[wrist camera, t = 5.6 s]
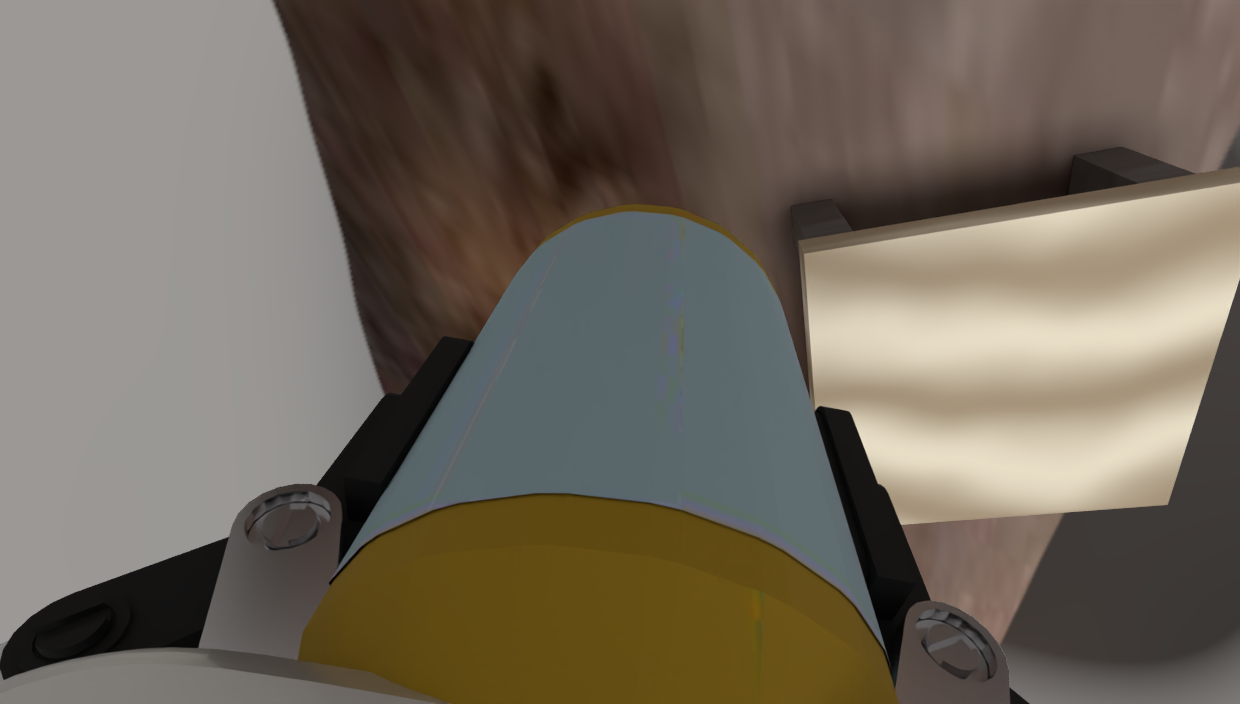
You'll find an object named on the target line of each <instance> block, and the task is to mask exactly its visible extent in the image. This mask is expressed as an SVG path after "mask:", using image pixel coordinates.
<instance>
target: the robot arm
mask: <svg viewBox="0 0 1240 704" xmlns="http://www.w3.org/2000/svg"><path fill="white" fill-rule="evenodd" d="M473 344H474V342H473V341H469V340H464V339H458V338H453V337H448V336H444V337H443V338H442V339H441V340H440V342H439V343H438V344H437V346H436V347H435V349H434V350H433V351H432V353H431V354H430V355H429V357H428V358H427V360H426V361H425V362H424V364H423V365H422V367H421V368H420V369H419V371H418V372H417V374H416V375H415V376H414V378H413V379H412V381H411V382H410V383H409V385H408V386H407V388H406V389H405V390H404V392H403V393H402V395H398V394H393V393H389V394H386V395H385V396H384V397H383V398H382V399H381V401H380V402H379V403H378V405H377V406H376V407H375V408H374V410H373V411H372V413H371V414H370V415H369V416H368V418H367V419H366V420H365V422H364V423H363V424H362V426H361V427H360V428H359V430H358V431H357V432H356V434H355V435H354V436H353V438H352V439H351V440H350V442H349V443H348V444H347V445H346V447H345V448H344V449H343V451H342V452H341V454H340V455H339V456H338V457H337V459H336V460H335V461H334V463H333V464H332V465H331V467H330V468H329V469H328V471H327V472H326V473H325V475H324V476H323V477H322V479H321V480H320V481H319V483H318V484H317V485H312V484H293V485H288V486H283V487H279V488H276V489H273V490H270V491H268V492H265V493H263V494H261V495H260V496H258V497H257V498H255V499H253V500H252V501H250V502H249V503H248V504H247V505H246V506H245V507H244V508H243V509H242V510H241V511H240V512H239V513H238V515H237V517H236V519H235V521H234V523H233V525H232V528H231V532H230V535H229V537H227V538H225V539H222V540H219V541H216V542H213V543H211V544H208V545H205V546H202V547H200V548H197V549H194V550H191V551H189V552H186V553H183V554H181V555H177V556H175V557H172V558H169V559H166V560H164V561H161V562H158V563H155V564H153V565H150V566H147V567H144V568H142V569H139V570H136V571H133V572H130V573H128V574H125V575H122V576H120V577H117V578H114V579H111V580H108V581H106V582H103V583H100V584H97V585H95V586H92V587H89V588H86V589H84V590H81V591H78V592H75V593H73V594H71V595H68V596H66V597H64V598H62V599H60V600H57V601H55V602H53V603H51V604H49V605H48V606H47V607H45V608H43V609H42V610H40V611H39V612H37V613H36V614H34V615H33V616H31V617H30V618H29V619H28V620H27V621H26V622H25V623H24V624H23V625H22V626H20V627H19V628H18V629H17V630H16V632H14V634H13V635H12V637H11V638H10V640H9V641H7V642H5V643H2V644H0V704H451V703H448V702H445V701H442V700H439V699H436V698H434V697H431V696H428V695H425V694H422V693H419V692H416V691H413V690H410V689H408V688H405V687H403V686H401V685H398V684H395V683H393V682H391V681H389V680H387V679H384V678H382V677H380V676H378V675H376V674H374V673H372V672H367V671H361V670H355V669H349V668H343V667H337V666H331V665H325V664H319V663H313V662H307V661H301V660H298V655H299V649H300V643H301V637H302V632H303V631H304V629H305V627H306V626H307V624H308V622H309V621H310V619H311V617H312V616H313V614H314V612H315V611H316V609H317V607H318V606H319V604H320V602H321V601H322V599H323V597H324V596H325V594H326V592H327V591H328V589H329V587H330V586H331V584H332V582H333V581H334V579H335V577H336V576H337V574H338V573H337V574H336V575H335V576H334V577H333V575H334V573H335V572H336V570H337V568H338V567H339V565H340V563H341V562H342V560H343V558H344V557H345V555H346V553H347V552H348V550H349V548H350V547H351V545H352V544H353V542H354V540H355V539H356V537H357V535H358V534H359V532H360V530H361V529H362V527H363V525H364V524H365V522H366V520H367V519H368V517H369V516H370V514H371V512H372V511H373V509H374V507H375V506H376V504H377V502H378V501H379V499H380V497H381V496H382V494H383V492H384V491H385V489H386V488H387V486H388V484H389V483H390V481H391V480H392V478H393V477H394V476H395V474H396V472H397V471H398V469H399V468H400V466H401V464H402V463H403V461H404V459H405V458H406V456H407V454H408V453H409V451H410V450H411V448H412V446H413V445H414V443H415V441H416V440H417V438H418V436H419V435H420V433H421V431H422V430H423V428H424V426H425V425H426V423H427V421H428V420H429V418H430V416H431V415H432V413H433V411H434V410H435V408H436V406H437V405H438V403H439V402H440V400H441V398H442V397H443V395H444V393H445V392H446V390H447V388H448V387H449V385H450V383H451V382H452V380H453V378H454V377H455V375H456V373H457V372H458V370H459V368H460V367H461V365H462V363H463V362H464V360H465V359H466V357H467V355H468V354H469V352H470V350H471V347H472V346H473ZM814 414H815V417H816V421H817V424H818V427H819V430H820V434H821V437H822V440H823V444H824V447H825V450H826V454H827V457H828V460H829V464H830V467H831V470H832V473H833V477H834V480H835V483H836V487H837V490H838V493H839V497H840V500H841V503H842V507H843V510H844V513H845V517H846V520H847V523H848V526H849V530H850V533H851V536H852V540H853V543H854V546H855V550H856V553H857V556H858V560H859V563H860V566H861V569H862V573H863V576H864V579H865V583H866V586H867V589H868V593H869V596H870V599H871V603H872V606H873V609H874V612H875V616H876V619H877V622H878V626H879V629H880V632H881V636H882V639H883V642H884V646H885V649H886V652H887V655H888V659H889V662H890V665H891V678H892V681H893V684H894V688H895V691H896V694H897V698H898V701H899V704H1029V703H1028V702H1027V701H1025V700H1024V699H1023V698H1022V697H1020V696H1019V695H1018V694H1017V693H1016V692H1015V691H1013V690H1012V689H1011V688H1010V687H1009V670H1008V665H1007V661H1006V657H1005V655H1004V653H1003V651H1002V649H1001V647H1000V645H999V644H998V642H997V641H996V640H995V638H994V637H993V636H992V635H991V634H990V632H989V631H988V630H987V629H986V628H985V627H984V626H983V625H981V624H980V623H979V622H978V621H977V620H975V619H974V618H973V617H972V616H970V615H968V614H967V613H965V612H963V611H962V610H960V609H958V608H956V607H954V606H951V605H948V604H946V603H943V602H936V601H931V600H930V597H929V595H928V592H927V590H926V587H925V584H924V582H923V579H922V577H921V574H920V572H919V569H918V567H917V564H916V562H915V559H914V557H913V554H912V552H911V549H910V547H909V544H908V542H907V539H906V537H905V534H904V532H903V529H902V526H901V524H900V521H899V519H898V516H897V514H896V511H895V509H894V506H893V504H892V501H891V499H890V496H889V494H888V492H887V490H886V488H885V487H884V486H882V485H881V484H878V482H877V480H876V477H875V475H874V472H873V469H872V467H871V464H870V462H869V459H868V456H867V454H866V451H865V449H864V446H863V443H862V441H861V438H860V435H859V433H858V430H857V428H856V425H855V422H854V420H853V417H852V415H851V413H850V412H849V411H846V410H841V409H835V408H830V407H824V406H819V407H817V409H816V410H815V412H814ZM339 571H340V570H339ZM339 571H338V572H339ZM332 577H333V578H332ZM331 578H332V579H331ZM329 581H330V582H329Z"/></svg>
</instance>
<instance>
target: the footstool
mask: <svg viewBox="0 0 1240 704" xmlns="http://www.w3.org/2000/svg"><path fill="white" fill-rule="evenodd" d="M791 213H792V226H793V238H794V244H795V247H796V249H797V251H798V254H799V256H800V270H801V283H802V296H803V309H804V322H805V336H806V349H807V362H808V375H809V388H810V401H811V404H812V407H813V411H814V412H815V410H816V409H817V407H819V406H824V407H830V408H835V409H841V410H846V411H849V412H850V413H851V415H852V417H853V420H854V422H855V425H856V428H857V430H858V433H859V435H860V438H861V441H862V443H863V446H864V449H865V451H866V454H867V456H868V459H869V462H870V464H871V467H872V469H873V472H874V475H875V477H876V480H877V482H878V484H881V485H882V486H884V487H885V488H886V490H887V492H888V494H889V496H890V499H891V501H892V504H893V506H894V509H895V511H896V514H897V516H898V519H899V521H900V524H901V525H903V524H917V523H930V522H943V521H957V520H970V519H983V518H997V517H1010V516H1023V515H1037V514H1050V513H1063V512H1076V511H1090V510H1103V509H1117V508H1129V507H1143V506H1156V505H1167V504H1168V502H1169V498H1170V495H1171V492H1172V489H1173V486H1174V483H1175V480H1176V477H1177V473H1178V470H1179V467H1180V464H1181V461H1182V458H1183V455H1184V451H1185V448H1186V445H1187V442H1188V439H1189V436H1190V433H1191V430H1192V426H1193V423H1194V420H1195V417H1196V414H1197V411H1198V407H1199V404H1200V401H1201V398H1202V395H1203V392H1204V389H1205V385H1206V382H1207V379H1208V376H1209V373H1210V370H1211V367H1212V364H1213V361H1214V357H1215V354H1216V351H1217V348H1218V345H1219V342H1220V339H1221V335H1222V332H1223V329H1224V326H1225V323H1226V320H1227V317H1228V313H1229V310H1230V307H1231V304H1232V301H1233V298H1234V295H1235V292H1236V289H1237V285H1238V282H1239V279H1240V167H1235V168H1229V169H1223V170H1217V171H1211V172H1205V173H1199V174H1195V173H1192V172H1189V171H1187V170H1184V169H1181V168H1178V167H1176V166H1173V165H1170V164H1168V163H1165V162H1162V161H1159V160H1157V159H1154V158H1151V157H1148V156H1146V155H1143V154H1140V153H1138V152H1135V151H1132V150H1129V149H1127V148H1124V147H1119V148H1113V149H1108V150H1102V151H1097V152H1091V153H1085V154H1080V155H1074V160H1073V166H1072V173H1071V179H1070V186H1069V192H1068V195H1067V196H1061V197H1055V198H1049V199H1043V200H1037V201H1031V202H1026V203H1020V204H1014V205H1008V206H1002V207H996V208H990V209H984V210H978V211H972V212H966V213H960V214H954V215H948V216H942V217H936V218H930V219H924V220H918V221H912V222H906V223H900V224H894V225H888V226H882V227H876V228H870V229H864V230H858V231H853V230H852V229H851V227H850V226H849V224H848V223H847V221H846V220H845V218H844V217H843V215H842V214H841V212H840V211H839V209H838V208H837V206H836V205H835V203H834V202H833V200H832V199H828V200H822V201H817V202H811V203H806V204H800V205H794V206H791Z"/></svg>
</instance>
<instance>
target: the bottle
mask: <svg viewBox="0 0 1240 704" xmlns="http://www.w3.org/2000/svg"><path fill="white" fill-rule="evenodd" d="M339 570H340V571H339ZM338 571H339V572H338ZM337 573H338V574H337ZM336 574H337V576H336V577H335V579H334V581H333V582H332V584H331V586H330V587H329V589H328V591H327V592H326V594H325V596H324V597H323V599H322V601H321V602H320V604H319V606H318V607H317V609H316V611H315V612H314V614H313V616H312V617H311V619H310V621H309V622H308V624H307V626H306V627H305V629H304V631H303V632H302V637H301V643H300V649H299V655H298V660H301V661H307V662H313V663H319V664H325V665H331V666H337V667H343V668H349V669H355V670H361V671H367V672H372V673H374V674H376V675H378V676H380V677H382V678H384V679H387V680H389V681H391V682H393V683H395V684H398V685H401V686H403V687H405V688H408V689H410V690H413V691H416V692H419V693H422V694H425V695H428V696H431V697H434V698H436V699H439V700H442V701H445V702H448V703H451V704H899V701H898V698H897V694H896V691H895V688H894V684H893V681H892V678H891V665H890V662H889V659H888V655H887V652H886V649H885V646H884V642H883V639H882V636H881V632H880V629H879V626H878V622H877V619H876V616H875V612H874V609H873V606H872V603H871V599H870V596H869V593H868V589H867V586H866V583H865V579H864V576H863V573H862V569H861V566H860V563H859V560H858V556H857V553H856V550H855V546H854V543H853V540H852V536H851V533H850V530H849V526H848V523H847V520H846V517H845V513H844V510H843V507H842V503H841V500H840V497H839V493H838V490H837V487H836V483H835V480H834V477H833V473H832V470H831V467H830V464H829V460H828V457H827V454H826V450H825V447H824V444H823V440H822V437H821V434H820V430H819V427H818V424H817V421H816V417H815V414H814V411H813V407H812V404H811V401H810V397H809V394H808V391H807V387H806V384H805V381H804V378H803V374H802V371H801V368H800V364H799V361H798V358H797V354H796V351H795V348H794V344H793V341H792V338H791V335H790V331H789V328H788V325H787V321H786V318H785V315H784V311H783V308H782V305H781V302H780V300H779V298H778V296H777V293H776V290H775V288H774V286H773V284H772V282H771V281H770V279H769V277H768V275H767V273H766V271H765V270H764V268H763V266H762V264H761V262H760V261H759V260H758V258H757V257H756V256H755V255H754V254H753V252H752V251H750V250H749V249H748V248H747V247H746V246H745V245H744V244H742V243H741V242H740V241H739V240H738V239H737V238H736V237H734V236H733V235H732V234H731V233H730V232H729V231H728V230H726V229H724V228H723V227H721V226H720V225H718V224H716V223H714V222H711V221H709V220H707V219H704V218H702V217H699V216H697V215H695V214H692V213H690V212H688V211H685V210H682V209H678V208H674V207H665V206H654V205H642V204H629V205H621V206H616V207H612V208H608V209H603V210H599V211H594V212H590V213H587V214H585V215H582V216H580V217H578V218H576V219H574V220H573V221H571V222H570V223H568V224H566V225H565V226H563V227H561V228H560V229H558V230H557V231H555V232H553V233H552V234H550V235H549V236H548V237H547V238H546V239H544V240H543V241H542V242H541V243H540V245H539V246H538V247H537V248H536V250H535V251H534V252H533V253H532V255H531V256H530V257H529V258H528V260H527V261H526V262H525V263H524V265H523V266H522V267H521V269H520V270H519V271H518V272H517V274H516V275H515V276H514V278H513V280H512V281H511V283H510V285H509V286H508V288H507V290H506V291H505V293H504V295H503V296H502V298H501V300H500V301H499V303H498V304H497V306H496V308H495V309H494V311H493V313H492V314H491V316H490V318H489V319H488V321H487V323H486V324H485V326H484V328H483V329H482V331H481V332H480V334H479V336H478V337H477V339H476V341H475V342H474V344H473V346H472V347H471V350H470V352H469V354H468V355H467V357H466V359H465V360H464V362H463V363H462V365H461V367H460V368H459V370H458V372H457V373H456V375H455V377H454V378H453V380H452V382H451V383H450V385H449V387H448V388H447V390H446V392H445V393H444V395H443V397H442V398H441V400H440V402H439V403H438V405H437V406H436V408H435V410H434V411H433V413H432V415H431V416H430V418H429V420H428V421H427V423H426V425H425V426H424V428H423V430H422V431H421V433H420V435H419V436H418V438H417V440H416V441H415V443H414V445H413V446H412V448H411V450H410V451H409V453H408V454H407V456H406V458H405V459H404V461H403V463H402V464H401V466H400V468H399V469H398V471H397V472H396V474H395V476H394V477H393V478H392V480H391V481H390V483H389V484H388V486H387V488H386V489H385V491H384V492H383V494H382V496H381V497H380V499H379V501H378V502H377V504H376V506H375V507H374V509H373V511H372V512H371V514H370V516H369V517H368V519H367V520H366V522H365V524H364V525H363V527H362V529H361V530H360V532H359V534H358V535H357V537H356V539H355V540H354V542H353V544H352V545H351V547H350V548H349V550H348V552H347V553H346V555H345V557H344V558H343V560H342V562H341V563H340V565H339V567H338V568H337V570H336V572H335V573H334V575H333V577H334V576H335V575H336ZM333 577H332V578H333ZM332 578H331V579H332ZM329 582H330V581H329Z"/></svg>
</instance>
